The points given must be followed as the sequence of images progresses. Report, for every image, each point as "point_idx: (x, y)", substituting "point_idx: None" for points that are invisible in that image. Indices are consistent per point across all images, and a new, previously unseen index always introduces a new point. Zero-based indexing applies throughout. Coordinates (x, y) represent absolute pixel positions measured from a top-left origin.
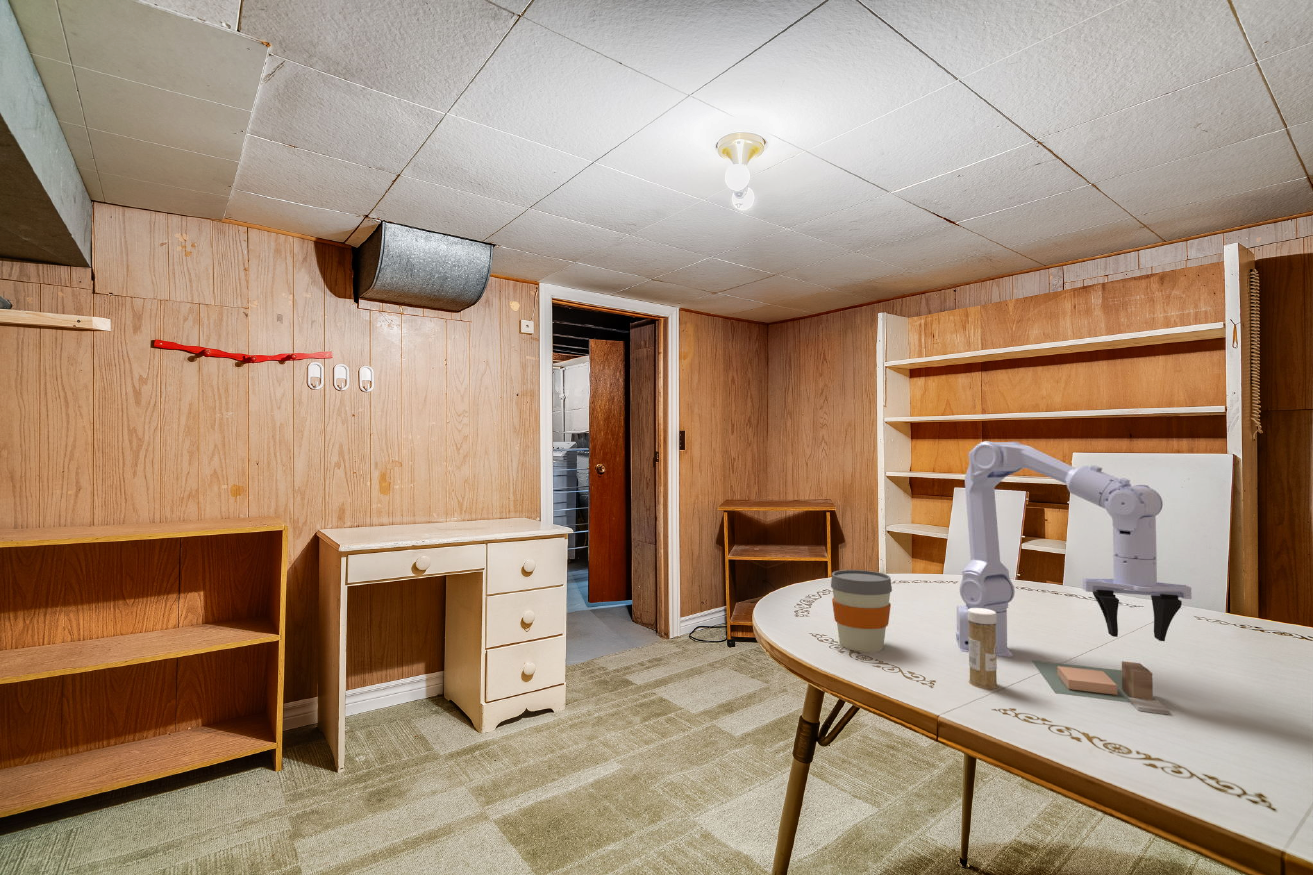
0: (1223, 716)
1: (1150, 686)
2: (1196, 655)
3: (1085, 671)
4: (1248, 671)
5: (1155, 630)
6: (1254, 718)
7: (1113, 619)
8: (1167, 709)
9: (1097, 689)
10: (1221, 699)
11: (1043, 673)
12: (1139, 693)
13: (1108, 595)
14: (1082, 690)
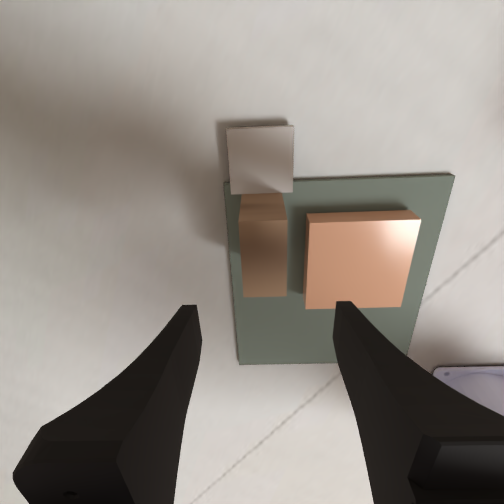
0: (111, 187)
1: (245, 206)
2: None
3: (347, 293)
4: (38, 426)
5: (195, 356)
6: (55, 201)
7: (379, 345)
8: (227, 137)
9: (350, 214)
10: (98, 286)
11: (416, 297)
12: (269, 197)
13: (458, 491)
14: (380, 211)
